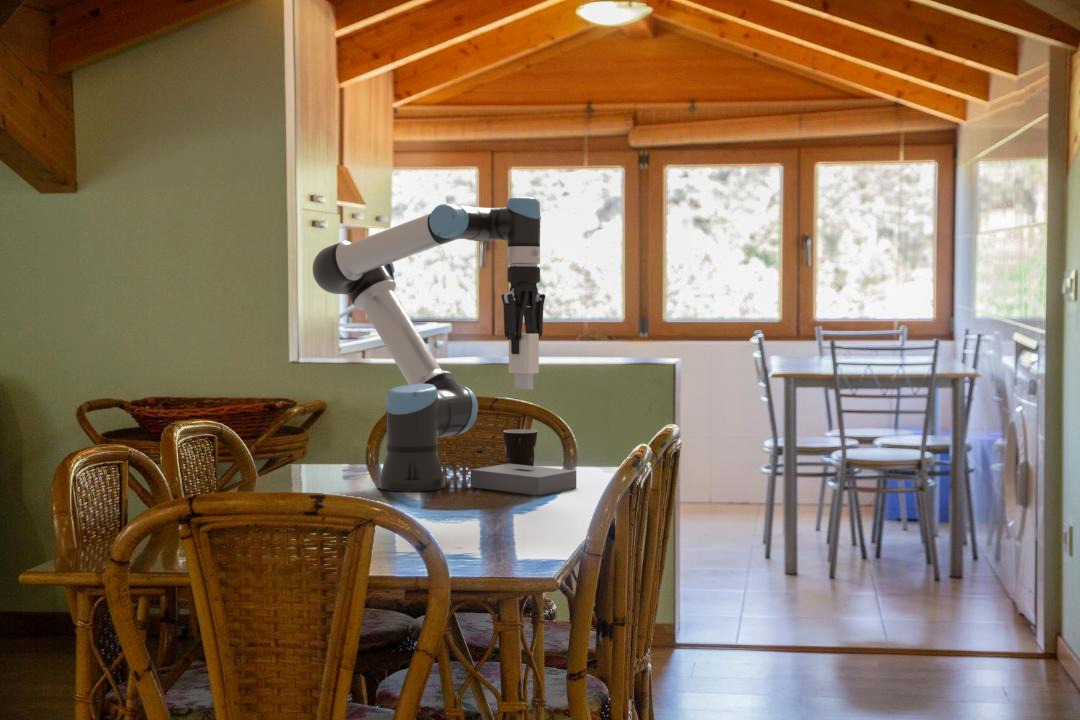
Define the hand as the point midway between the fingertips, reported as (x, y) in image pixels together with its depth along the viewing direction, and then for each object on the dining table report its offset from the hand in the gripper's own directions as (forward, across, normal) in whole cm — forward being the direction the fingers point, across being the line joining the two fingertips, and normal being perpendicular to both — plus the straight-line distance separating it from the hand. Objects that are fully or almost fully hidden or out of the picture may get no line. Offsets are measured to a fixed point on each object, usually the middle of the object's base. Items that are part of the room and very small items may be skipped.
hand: (523, 368), depth 298 cm
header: (+28, 0, 0) cm, 28 cm away
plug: (+5, 0, 0) cm, 5 cm away
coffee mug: (+28, +20, +18) cm, 39 cm away
